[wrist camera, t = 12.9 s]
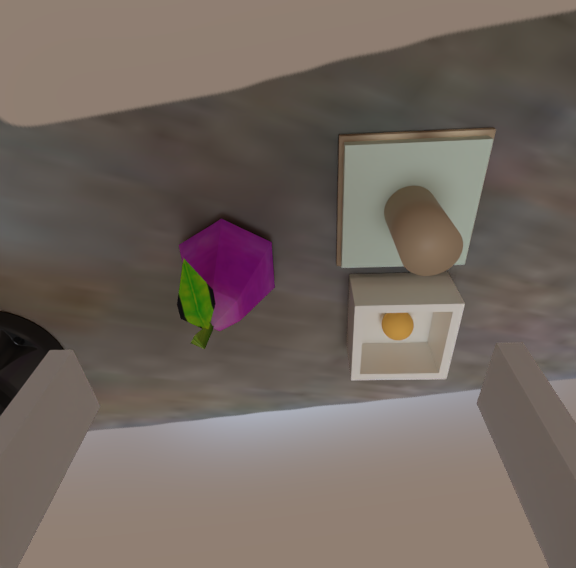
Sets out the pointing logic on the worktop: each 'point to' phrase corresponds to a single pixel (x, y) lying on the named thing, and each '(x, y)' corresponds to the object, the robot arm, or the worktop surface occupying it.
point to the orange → (397, 325)
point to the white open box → (426, 333)
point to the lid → (411, 201)
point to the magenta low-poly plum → (222, 277)
